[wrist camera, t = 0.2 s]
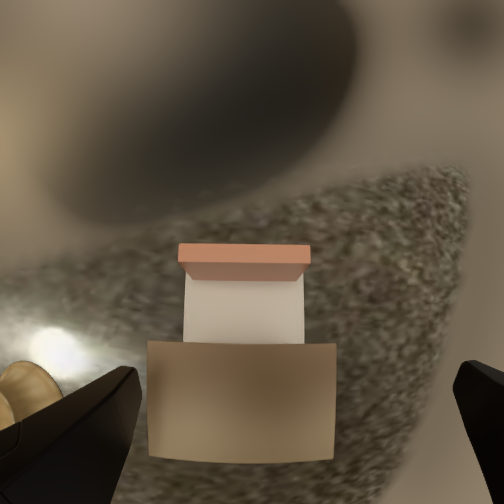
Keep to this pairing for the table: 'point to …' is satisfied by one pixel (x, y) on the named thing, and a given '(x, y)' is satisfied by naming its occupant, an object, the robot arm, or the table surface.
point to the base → (244, 293)
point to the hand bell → (25, 392)
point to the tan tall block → (241, 401)
